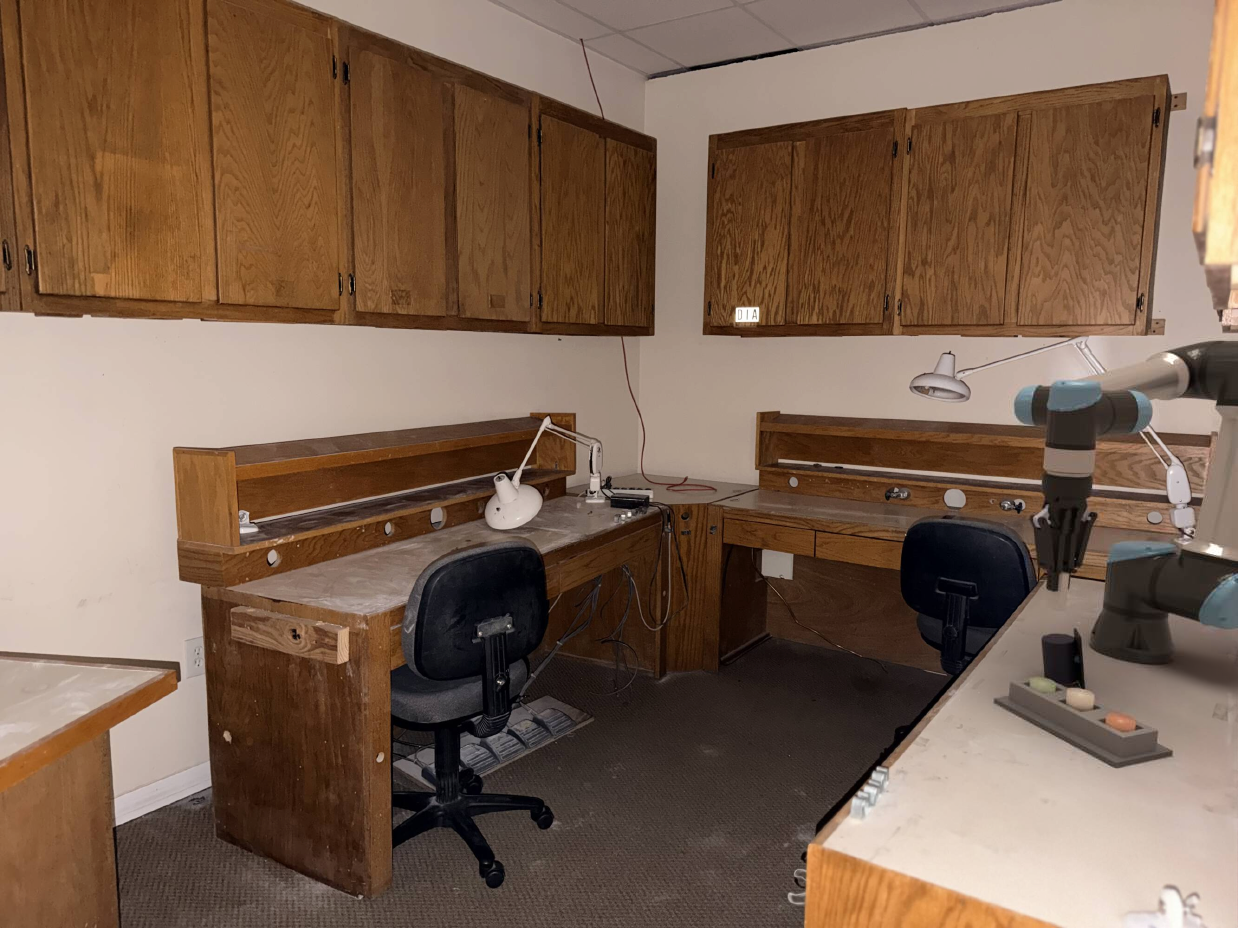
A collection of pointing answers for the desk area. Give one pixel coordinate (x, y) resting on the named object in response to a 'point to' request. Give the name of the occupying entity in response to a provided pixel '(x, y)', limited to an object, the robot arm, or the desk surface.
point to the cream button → (1080, 699)
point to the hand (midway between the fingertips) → (1056, 608)
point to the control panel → (1083, 725)
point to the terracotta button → (1120, 722)
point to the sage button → (1042, 684)
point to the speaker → (1063, 658)
